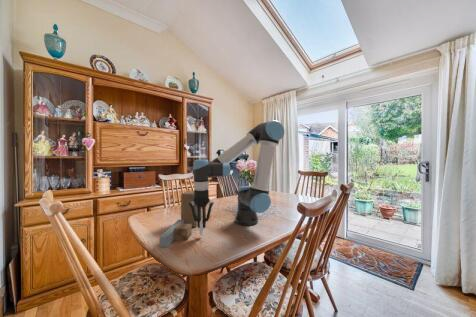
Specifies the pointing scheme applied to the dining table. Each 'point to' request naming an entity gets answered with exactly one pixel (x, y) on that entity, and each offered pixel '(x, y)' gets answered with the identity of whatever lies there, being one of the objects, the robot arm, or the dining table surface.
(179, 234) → the walnut block
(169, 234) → the bar
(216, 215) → the dining table surface
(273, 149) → the robot arm
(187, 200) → the wooden block
